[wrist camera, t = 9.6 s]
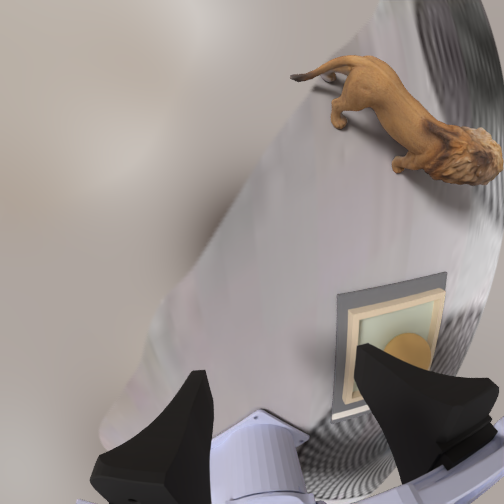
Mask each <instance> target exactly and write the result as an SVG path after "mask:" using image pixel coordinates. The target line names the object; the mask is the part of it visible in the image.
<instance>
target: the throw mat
mask: <svg viewBox="0 0 504 504" xmlns="http://www.w3.org/2000/svg"><path fill="white" fill-rule="evenodd" d="M446 279H447V272H442V273H438V274H433V275H429V276H425V277H421V278H416V279H412V280H407V281H403V282H398V283H394V284H389V285H384V286H379V287H374V288H369V289H364V290H359V291H353V292H348V293H343V294H337V334H336V359H335V377H334V391H333V403H332V413H331V424H334V423H337V422H341V421H345V420H348V419H352V418H355V417H359V416H362V415H365V414H368V413H371V410H370V409H369V407H368V405H367V404H366V402H365V400H364V399H363V397H362V395H361V394H360V392H359V389H358V387H357V385H356V382H355V380H354V369H355V359H356V349H357V346H358V345H362V344H366V343H369V344H371V345H373V346H375V347H377V348H379V349H381V350H383V351H384V349H385V347H386V345H387V344H388V343H389V342H390V341H391V340H392V339H393V338H394V337H396V336H398V335H400V334H404V333H414V334H417V335H419V336H421V337H422V338H424V339H425V340H426V342H427V343H428V345H429V347H430V351H431V362H430V366H429V368H428V371H430V367H431V364H432V360H433V356H434V352H435V347H436V343H437V339H438V334H439V329H440V324H441V318H442V313H443V307H444V300H445V293H446V291H445V288H446Z"/></svg>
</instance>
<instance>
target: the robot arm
mask: <svg viewBox="0 0 504 504" xmlns="http://www.w3.org/2000/svg"><path fill="white" fill-rule="evenodd" d="M354 380H355V382H356V385H357V387H358V389H359V392H360V394H361V395H362V397H363V399H364V400H365V402H366V404H367V405H368V407H369V409H370V410H371V412H372V413H373V415H374V417H375V418H376V420H377V421H378V423H379V425H380V427H381V428H382V430H383V432H384V435H385V437H386V439H387V442H388V444H389V446H390V449H391V452H392V454H393V457H394V460H395V463H396V465H397V468H398V472H399V475H400V479H401V482H402V485H400V486H398V487H394V488H392V489H390V490H387V491H385V492H382V493H380V494H377V495H375V496H371V497H369V498H366V499H363V500H360V501H357V502H354V503H351V504H470V503H472V502H473V501H474V500H475V499H477V498H478V497H479V496H481V495H482V494H483V493H484V492H486V491H487V490H488V489H489V488H490V487H491V486H493V485H494V484H495V483H496V482H498V481H499V480H500V479H501V478H502V477H503V476H504V416H503V417H502V418H501V419H499V420H498V421H497V422H496V423H495V424H494V426H493V425H492V424H491V423H490V422H491V420H492V418H491V417H490V416H489V413H490V411H491V409H492V407H493V406H494V404H495V402H496V399H497V397H498V394H499V387H498V386H497V385H496V384H494V382H492V381H491V380H490V379H489V378H463V377H455V376H448V375H443V374H439V373H435V372H431V371H428V370H425V369H422V368H419V367H416V366H414V365H412V364H409V363H407V362H405V361H403V360H400V359H398V358H396V357H394V356H392V355H390V354H388V353H387V352H385V351H383V350H381V349H379V348H377V347H375V346H373V345H371V344H369V343H366V344H362V345H358V346H357V349H356V359H355V369H354ZM255 416H258V417H255ZM213 422H214V405H213V398H212V394H211V390H210V387H209V383H208V379H207V375H206V371H205V370H197V371H192V372H191V373H190V374H189V376H188V378H187V379H186V381H185V382H184V384H183V385H182V387H181V388H180V390H179V391H178V393H177V394H176V395H175V397H174V398H173V400H172V401H171V402H170V403H169V405H168V406H167V407H166V408H165V409H164V411H163V412H162V413H161V414H160V415H159V416H158V417H157V418H156V419H155V420H154V421H153V422H152V423H151V424H150V425H149V426H147V427H146V428H145V429H144V430H142V431H141V432H140V433H139V434H137V435H136V436H134V437H133V438H131V439H130V440H128V441H127V442H125V443H123V444H122V445H120V446H118V447H116V448H114V449H112V450H110V451H108V452H106V453H103V454H101V455H99V457H98V459H97V461H96V463H95V466H94V469H93V472H92V475H91V477H90V483H91V485H92V486H93V487H94V488H95V490H96V491H98V492H99V494H101V495H102V496H103V497H104V498H105V499H106V500H107V501H108V502H109V504H326V503H325V502H324V501H315V498H314V494H313V493H309V494H308V493H307V489H306V485H305V482H304V478H303V474H302V470H301V466H300V463H299V459H298V455H297V451H296V447H298V446H299V445H301V444H303V443H304V442H306V441H307V440H309V435H308V434H306V433H304V432H302V431H300V430H298V429H296V428H294V427H292V426H290V425H289V424H287V423H285V422H283V421H281V420H280V419H278V418H276V417H274V416H273V415H271V414H269V413H267V412H266V411H264V410H257V411H255V412H254V413H252V414H251V415H249V416H248V417H247V418H245V419H244V420H242V421H241V422H239V423H237V424H236V425H234V426H233V427H231V428H230V429H228V430H227V431H225V432H223V433H222V434H220V435H219V436H217V437H215V438H214V439H212V432H213ZM76 504H96V503H92V502H88V501H85V500H81V499H77V501H76Z"/></svg>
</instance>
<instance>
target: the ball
mask: <svg viewBox="0 0 504 504" xmlns="http://www.w3.org/2000/svg"><path fill="white" fill-rule="evenodd" d="M384 351H385V352H387V353H388V354H390V355H392V356H394V357H396V358H398V359H400V360H403V361H405V362H407V363H409V364H412V365H414V366H416V367H419V368H422V369H425V370H428V368H429V366H430V362H431V351H430V347H429V345H428V343H427V342H426V340H425V339H424V338H422V337H421V336H419V335H417V334H414V333H404V334H400V335H398V336H396V337H394V338H393V339H392V340H391V341H390V342H389V343H388V344H387V345H386V347H385V349H384Z"/></svg>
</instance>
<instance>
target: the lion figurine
mask: <svg viewBox="0 0 504 504" xmlns="http://www.w3.org/2000/svg"><path fill="white" fill-rule="evenodd" d="M334 72H337V73H342V74H344V75H347V79H346V81H345V84H344V87H343V91H342V94H341V96H340V97H339V98H336V99H333V100H332V113H331V122H332V124H333V125H334V127H335V128H337V129H342V128H344V127H345V125H346V124H347V119H346V117H345V116H344V115H343V114H342V112H343V111H360V110H362V109H364V108H368V107H371V108H372V109H373V110H374V111H375V113H376V115H377V117H378V119H379V121H380V123H381V125H382V126H383V128H384V129H385V130H386V131H387V133H388V134H389V135H390V136H391V137H392V138H393V139H395V140H396V141H397V142H398V143H400V144H401V145H402V146H404V147H405V148H406V149H408V152H407V154H406V156H403V157H402V156H396V157H395V158H394V160H393V161H392V169H393V171H394V172H395V173H401V172H402V171H404V168H407V169H411V170H418V169H424V170H425V172H426V173H427V174H429V175H430V176H431V177H432V178H433V179H434V180H442V181H443V182H446V183H451V184H458V185H463V184H469V185H471V186H475V185H479V184H481V185H487V184H488V183H489V181H492V180H493V179H494V178H495V177H496V176H497V175H498V174H499V172H501V171H503V158H502V150H501V147H500V145H499V144H497V143H496V141H494V140H492V137H491V135H490V134H489V133H488V132H486V131H485V130H484V129H483V128H478V129H471V128H468V127H459V126H455V125H447V124H445V123H443V122H440V121H438V120H436V119H435V118H434V117H433V116H432V115H431V114H430V113H429V112H428V111H427V110H426V109H425V108H424V107H423V106H422V105H421V104H420V102H419V101H417V100H416V99H415V98H414V97H413V96H412V95H411V94H410V93H409V92H408V91H407V90H406V88H405V87H404V85H403V84H402V82H401V80H400V79H399V77H398V75H397V74H396V72H395V71H394V70H393V69H392V68H391V67H390V66H389V65H388V64H387V63H385V62H384V61H382V60H380V59H378V58H376V57H373V56H364V57H361V56H355V55H348V56H341V57H338V58H335V59H332V60H330V61H329V62H327V63H325V64H323V65H322V66H320V67H319V68H317V69H315V70H314V71H311V72H308V73H306V74H299V75H298V74H297V75H291V76H290V79H293V80H295V81H297V82H301V81H306V80H309V79H313V78H314V77H316V76H319V75H320V76H321V77H322V78H323V79H324V80H325V81H327V82H331V81H335V80H336V74H335V73H334Z"/></svg>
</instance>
